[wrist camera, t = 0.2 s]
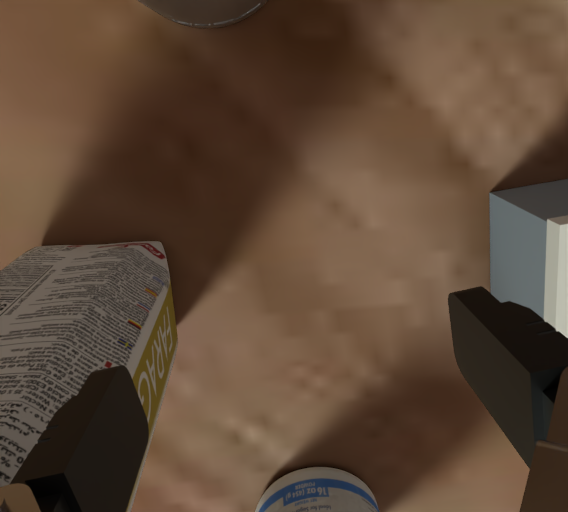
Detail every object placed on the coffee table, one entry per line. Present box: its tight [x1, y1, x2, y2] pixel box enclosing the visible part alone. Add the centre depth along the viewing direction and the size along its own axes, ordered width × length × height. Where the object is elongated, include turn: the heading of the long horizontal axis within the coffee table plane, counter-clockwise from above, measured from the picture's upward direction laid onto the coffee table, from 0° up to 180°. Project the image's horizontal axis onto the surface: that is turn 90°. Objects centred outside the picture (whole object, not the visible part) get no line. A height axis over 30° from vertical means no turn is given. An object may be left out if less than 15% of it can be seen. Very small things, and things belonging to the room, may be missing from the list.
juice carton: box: [0, 241, 178, 512], centre depth 19 cm, size 9×8×24 cm
